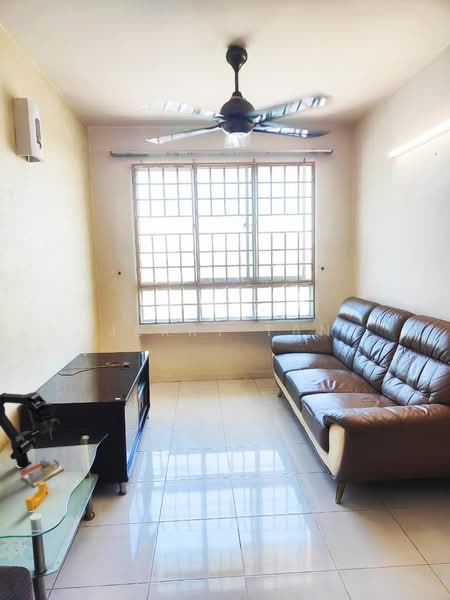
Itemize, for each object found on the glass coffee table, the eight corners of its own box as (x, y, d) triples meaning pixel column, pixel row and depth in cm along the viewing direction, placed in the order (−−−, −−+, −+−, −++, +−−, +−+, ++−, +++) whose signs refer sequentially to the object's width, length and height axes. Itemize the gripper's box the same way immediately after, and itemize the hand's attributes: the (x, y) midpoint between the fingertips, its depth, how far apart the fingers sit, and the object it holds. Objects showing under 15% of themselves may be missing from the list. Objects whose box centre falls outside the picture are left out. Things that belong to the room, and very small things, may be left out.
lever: (22, 477, 185) (21, 473, 185) (20, 474, 188) (19, 470, 188) (51, 463, 194) (50, 459, 194) (48, 461, 197) (47, 457, 197)
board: (22, 477, 196) (21, 475, 195) (50, 462, 207) (50, 460, 206) (34, 486, 185) (34, 485, 185) (64, 470, 196) (63, 468, 196)
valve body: (28, 480, 191) (26, 472, 190) (55, 465, 201) (53, 457, 200) (33, 483, 187) (31, 475, 186) (60, 468, 197) (58, 460, 196)
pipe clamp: (40, 494, 178) (37, 482, 177) (49, 494, 177) (45, 481, 176) (24, 513, 166) (21, 500, 165) (33, 512, 166) (30, 499, 165)
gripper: (24, 428, 188) (32, 456, 190) (61, 411, 202) (67, 438, 204) (16, 423, 196) (23, 451, 198) (51, 408, 209) (58, 434, 212)
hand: (43, 443), depth 203 cm, fingers open, 9 cm apart
